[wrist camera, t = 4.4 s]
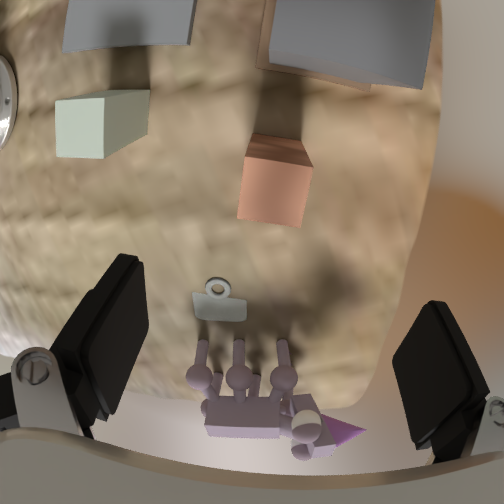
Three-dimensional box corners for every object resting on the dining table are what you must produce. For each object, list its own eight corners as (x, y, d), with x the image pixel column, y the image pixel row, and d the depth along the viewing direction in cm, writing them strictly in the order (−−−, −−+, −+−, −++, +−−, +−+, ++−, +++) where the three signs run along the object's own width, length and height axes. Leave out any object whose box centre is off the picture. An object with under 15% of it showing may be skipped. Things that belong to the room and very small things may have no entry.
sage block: (107, 132, 24) (56, 156, 18) (109, 90, 22) (55, 100, 15) (147, 134, 24) (103, 158, 18) (150, 89, 22) (104, 97, 16)
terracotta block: (246, 178, 26) (236, 218, 19) (252, 133, 24) (244, 156, 17) (292, 185, 26) (300, 227, 20) (301, 141, 24) (313, 167, 17)
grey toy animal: (360, 327, 35) (382, 431, 23) (346, 375, 41) (357, 462, 29) (192, 330, 36) (168, 432, 25) (207, 378, 42) (193, 463, 31)
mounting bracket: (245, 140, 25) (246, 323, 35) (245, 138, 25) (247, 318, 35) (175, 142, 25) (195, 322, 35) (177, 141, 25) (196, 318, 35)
